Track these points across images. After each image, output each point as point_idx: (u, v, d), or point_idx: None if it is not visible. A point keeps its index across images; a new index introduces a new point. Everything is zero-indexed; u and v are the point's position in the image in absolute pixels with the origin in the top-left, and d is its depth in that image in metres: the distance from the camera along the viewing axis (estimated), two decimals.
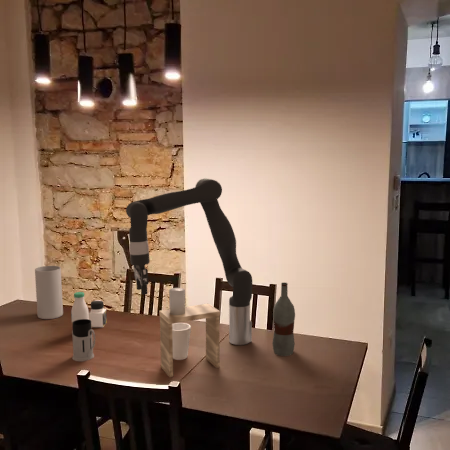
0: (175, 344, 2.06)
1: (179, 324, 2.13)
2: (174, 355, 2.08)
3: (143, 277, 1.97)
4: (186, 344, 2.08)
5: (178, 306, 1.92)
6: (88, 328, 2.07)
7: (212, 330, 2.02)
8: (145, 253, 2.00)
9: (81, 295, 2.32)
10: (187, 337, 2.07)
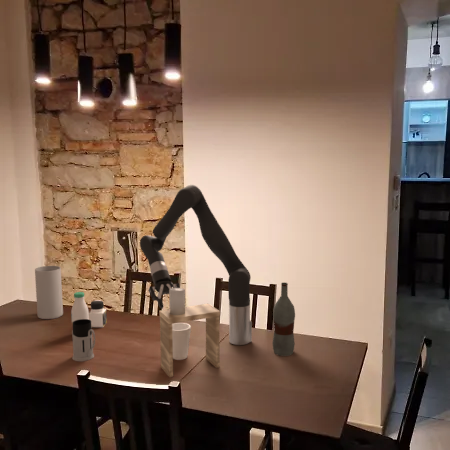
0: (175, 344, 2.06)
1: (179, 324, 2.13)
2: (174, 355, 2.08)
3: (150, 294, 2.20)
4: (186, 344, 2.08)
5: (178, 306, 1.92)
6: (88, 328, 2.07)
7: (212, 330, 2.02)
8: (153, 272, 2.24)
9: (81, 295, 2.32)
10: (187, 337, 2.07)
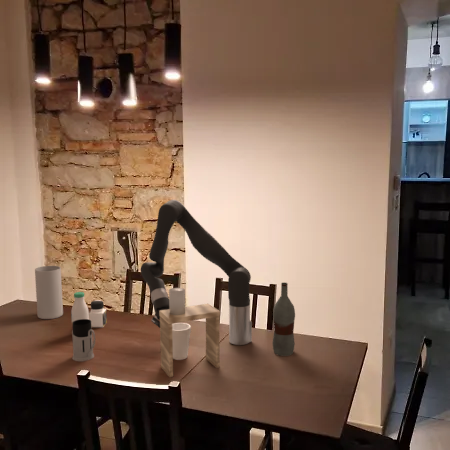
0: (175, 344, 2.06)
1: (179, 324, 2.13)
2: (174, 355, 2.08)
3: (156, 324, 2.21)
4: (186, 344, 2.08)
5: (178, 306, 1.92)
6: (88, 328, 2.07)
7: (212, 330, 2.02)
8: (154, 300, 2.26)
9: (81, 295, 2.32)
10: (187, 337, 2.07)
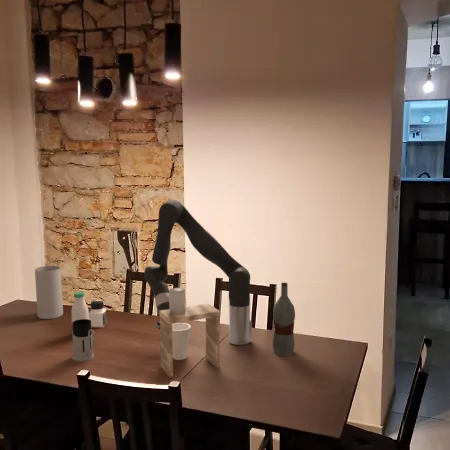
0: (175, 344, 2.06)
1: (179, 324, 2.13)
2: (174, 355, 2.08)
3: None
4: (186, 344, 2.08)
5: (178, 306, 1.92)
6: (88, 328, 2.07)
7: (212, 330, 2.02)
8: (158, 304, 2.21)
9: (81, 295, 2.32)
10: (187, 337, 2.07)
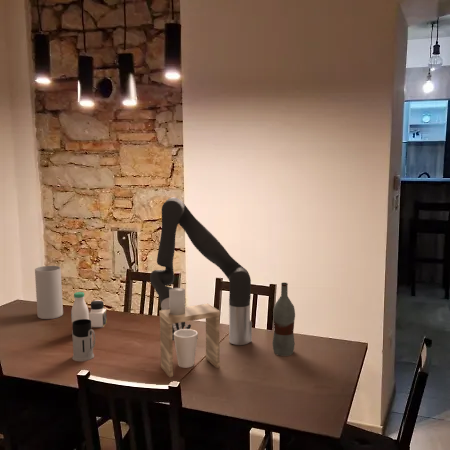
0: (181, 351, 1.99)
1: (186, 330, 2.06)
2: (180, 363, 2.01)
3: None
4: (193, 351, 2.00)
5: (178, 306, 1.92)
6: (88, 328, 2.07)
7: (212, 330, 2.02)
8: None
9: (81, 295, 2.32)
10: (194, 344, 2.00)
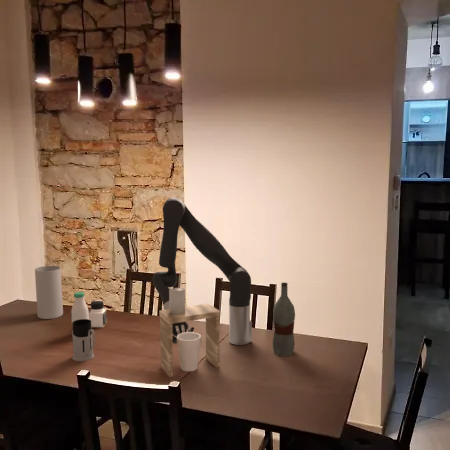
0: (184, 355, 1.95)
1: (189, 333, 2.02)
2: (183, 366, 1.97)
3: None
4: (196, 355, 1.97)
5: (178, 306, 1.92)
6: (88, 328, 2.07)
7: (212, 330, 2.02)
8: None
9: (81, 295, 2.32)
10: (197, 347, 1.96)
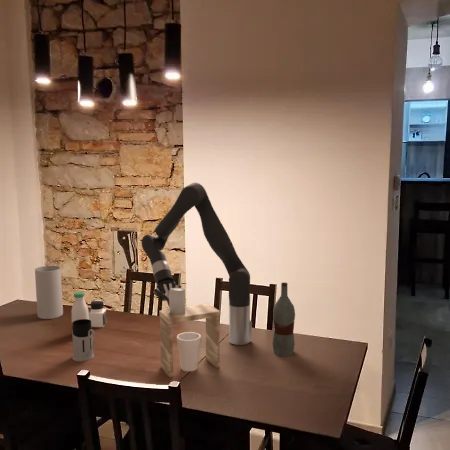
0: (184, 355, 1.95)
1: (189, 333, 2.02)
2: (183, 366, 1.97)
3: (158, 296, 2.17)
4: (196, 355, 1.97)
5: (178, 306, 1.92)
6: (88, 328, 2.07)
7: (212, 330, 2.02)
8: (155, 272, 2.21)
9: (81, 295, 2.32)
10: (197, 347, 1.96)
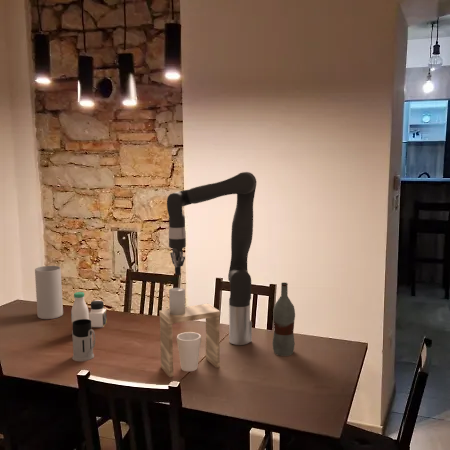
0: (184, 355, 1.95)
1: (189, 333, 2.02)
2: (183, 366, 1.97)
3: (180, 262, 2.24)
4: (196, 355, 1.97)
5: (178, 306, 1.92)
6: (88, 328, 2.07)
7: (212, 330, 2.02)
8: (183, 238, 2.25)
9: (81, 295, 2.32)
10: (197, 347, 1.96)
